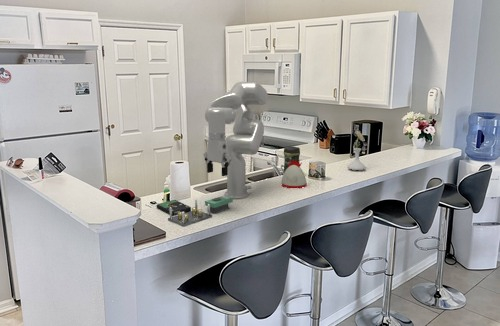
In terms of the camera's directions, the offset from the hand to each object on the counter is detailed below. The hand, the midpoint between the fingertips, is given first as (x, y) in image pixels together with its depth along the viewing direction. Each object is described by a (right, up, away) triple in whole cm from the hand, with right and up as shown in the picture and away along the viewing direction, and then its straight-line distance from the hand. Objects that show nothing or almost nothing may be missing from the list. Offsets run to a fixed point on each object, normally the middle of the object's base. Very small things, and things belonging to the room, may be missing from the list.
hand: (217, 174), depth 200 cm
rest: (+1, -17, +4) cm, 17 cm away
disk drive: (-21, -17, +4) cm, 27 cm away
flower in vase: (+84, +1, +83) cm, 118 cm away
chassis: (-11, -19, -8) cm, 24 cm away
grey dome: (+40, -8, +46) cm, 61 cm away
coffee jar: (+40, -3, +65) cm, 77 cm away
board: (+1, -14, +3) cm, 14 cm away
